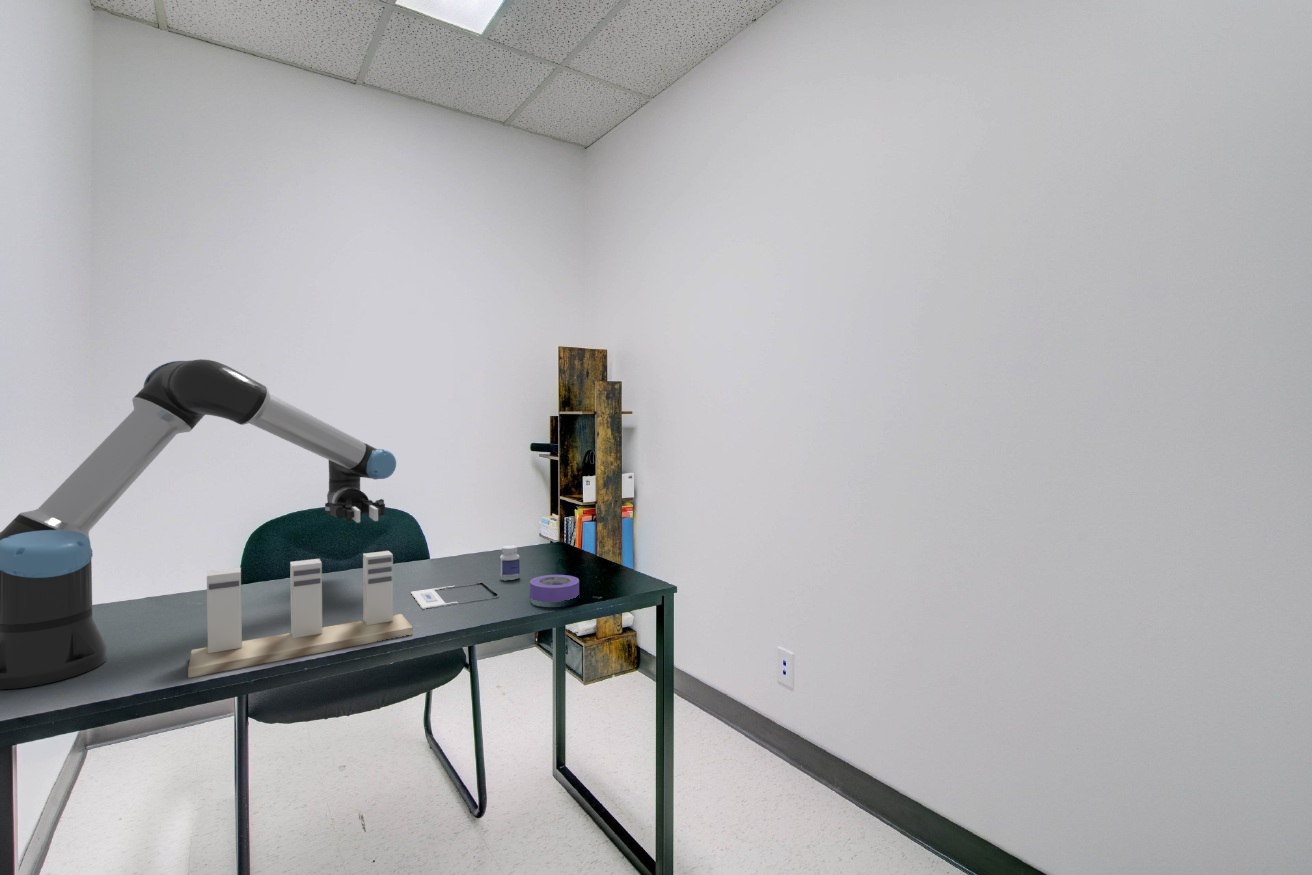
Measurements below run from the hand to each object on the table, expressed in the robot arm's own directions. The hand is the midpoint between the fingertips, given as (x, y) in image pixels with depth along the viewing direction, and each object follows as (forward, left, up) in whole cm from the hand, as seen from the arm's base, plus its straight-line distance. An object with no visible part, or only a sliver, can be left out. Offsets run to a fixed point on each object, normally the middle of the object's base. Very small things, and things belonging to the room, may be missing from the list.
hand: (367, 515), depth 134 cm
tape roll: (+39, -14, -22) cm, 47 cm away
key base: (-13, -15, -22) cm, 29 cm away
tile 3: (0, -12, -20) cm, 23 cm away
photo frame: (+20, +2, -23) cm, 30 cm away
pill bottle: (+37, +9, -22) cm, 44 cm away
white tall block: (-13, -12, -20) cm, 27 cm away
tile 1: (-26, -12, -20) cm, 35 cm away
